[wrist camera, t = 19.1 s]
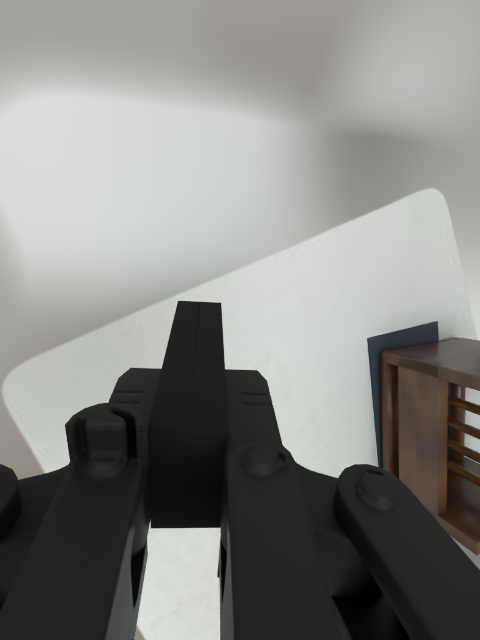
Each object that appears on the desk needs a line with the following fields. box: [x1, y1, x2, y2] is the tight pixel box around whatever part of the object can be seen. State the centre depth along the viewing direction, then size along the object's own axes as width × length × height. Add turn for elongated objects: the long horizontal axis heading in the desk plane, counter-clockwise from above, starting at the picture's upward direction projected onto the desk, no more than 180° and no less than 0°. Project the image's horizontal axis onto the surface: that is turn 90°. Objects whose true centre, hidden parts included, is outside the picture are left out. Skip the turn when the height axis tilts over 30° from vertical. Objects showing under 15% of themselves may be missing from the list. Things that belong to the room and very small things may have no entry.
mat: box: [367, 321, 439, 468], centre depth 43 cm, size 18×10×1 cm, turn 8°
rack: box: [381, 338, 480, 555], centre depth 38 cm, size 16×12×12 cm
